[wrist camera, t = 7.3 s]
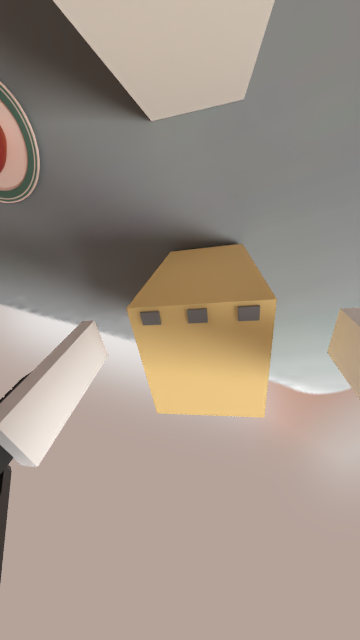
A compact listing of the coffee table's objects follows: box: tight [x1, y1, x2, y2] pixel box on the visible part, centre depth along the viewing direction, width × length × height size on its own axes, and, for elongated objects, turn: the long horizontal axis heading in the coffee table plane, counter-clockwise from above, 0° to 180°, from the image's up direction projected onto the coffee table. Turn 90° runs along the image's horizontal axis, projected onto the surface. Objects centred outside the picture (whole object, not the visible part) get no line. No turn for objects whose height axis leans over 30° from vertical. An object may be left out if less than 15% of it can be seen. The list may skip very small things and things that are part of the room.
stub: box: [126, 244, 277, 417], centre depth 14 cm, size 7×6×11 cm
